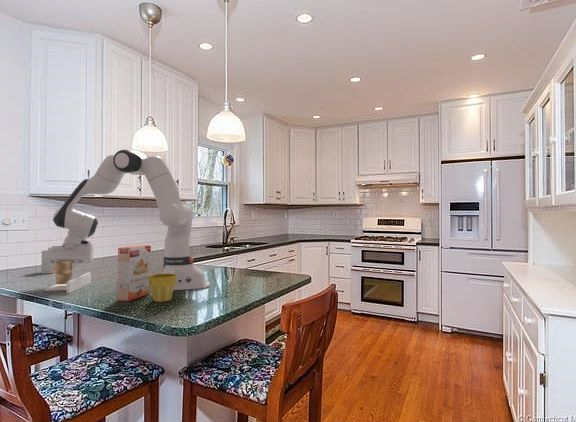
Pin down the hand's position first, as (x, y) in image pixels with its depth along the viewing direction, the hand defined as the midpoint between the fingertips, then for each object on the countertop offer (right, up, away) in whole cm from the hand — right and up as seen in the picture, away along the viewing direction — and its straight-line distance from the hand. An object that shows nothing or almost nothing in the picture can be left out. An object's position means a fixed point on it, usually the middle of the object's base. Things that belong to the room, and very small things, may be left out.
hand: (63, 269), depth 158 cm
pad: (0, -8, +1) cm, 8 cm away
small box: (-34, -9, +41) cm, 54 cm away
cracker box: (+39, -9, -17) cm, 44 cm away
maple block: (0, -6, +1) cm, 6 cm away
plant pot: (+52, -9, -20) cm, 57 cm away
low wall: (+7, -8, +1) cm, 11 cm away
